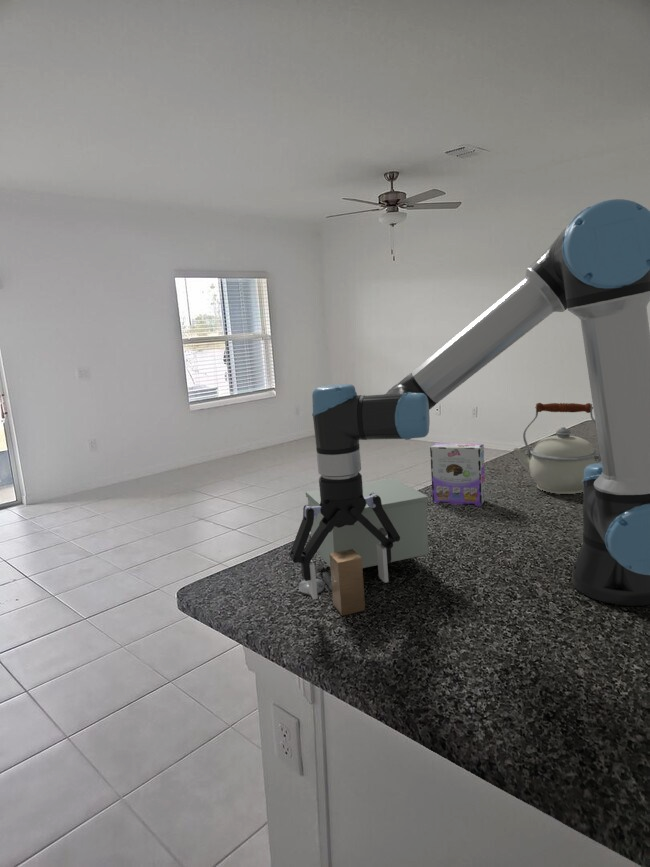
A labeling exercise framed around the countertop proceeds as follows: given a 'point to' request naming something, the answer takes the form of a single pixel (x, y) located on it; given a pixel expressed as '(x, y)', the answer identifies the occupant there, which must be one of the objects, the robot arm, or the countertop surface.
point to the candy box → (458, 473)
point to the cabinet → (403, 513)
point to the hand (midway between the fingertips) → (349, 587)
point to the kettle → (559, 455)
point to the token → (305, 588)
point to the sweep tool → (346, 581)
